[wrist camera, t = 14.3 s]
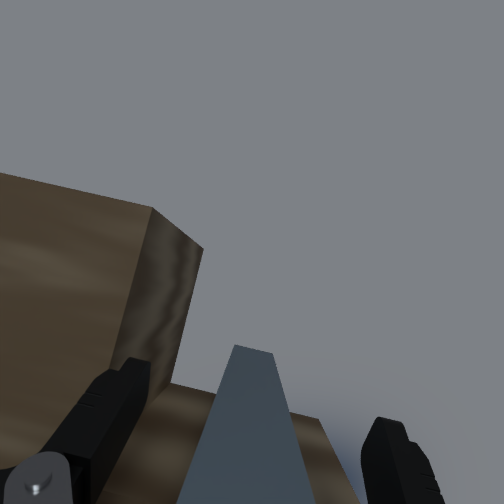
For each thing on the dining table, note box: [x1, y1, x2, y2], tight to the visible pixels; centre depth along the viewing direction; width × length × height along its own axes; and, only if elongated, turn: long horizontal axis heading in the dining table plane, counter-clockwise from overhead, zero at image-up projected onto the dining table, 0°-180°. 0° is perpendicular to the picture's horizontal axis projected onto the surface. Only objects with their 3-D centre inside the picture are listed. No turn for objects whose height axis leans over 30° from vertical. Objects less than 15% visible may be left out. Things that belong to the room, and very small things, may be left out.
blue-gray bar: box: [176, 345, 316, 504], centre depth 18 cm, size 23×4×4 cm, turn 179°
